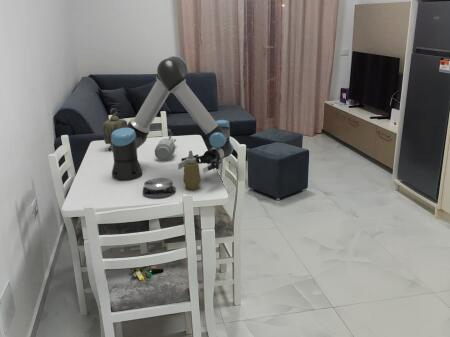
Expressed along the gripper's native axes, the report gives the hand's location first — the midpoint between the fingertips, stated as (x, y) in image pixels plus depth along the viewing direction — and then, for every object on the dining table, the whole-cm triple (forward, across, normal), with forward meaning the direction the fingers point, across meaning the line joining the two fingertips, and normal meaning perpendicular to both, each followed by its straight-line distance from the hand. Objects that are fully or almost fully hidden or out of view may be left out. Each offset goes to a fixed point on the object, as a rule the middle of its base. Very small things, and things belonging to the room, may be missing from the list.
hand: (190, 168), depth 198 cm
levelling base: (+10, +11, -10) cm, 18 cm away
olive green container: (-38, +78, -10) cm, 87 cm away
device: (-42, +43, -10) cm, 60 cm away
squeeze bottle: (-1, 0, -10) cm, 10 cm away
